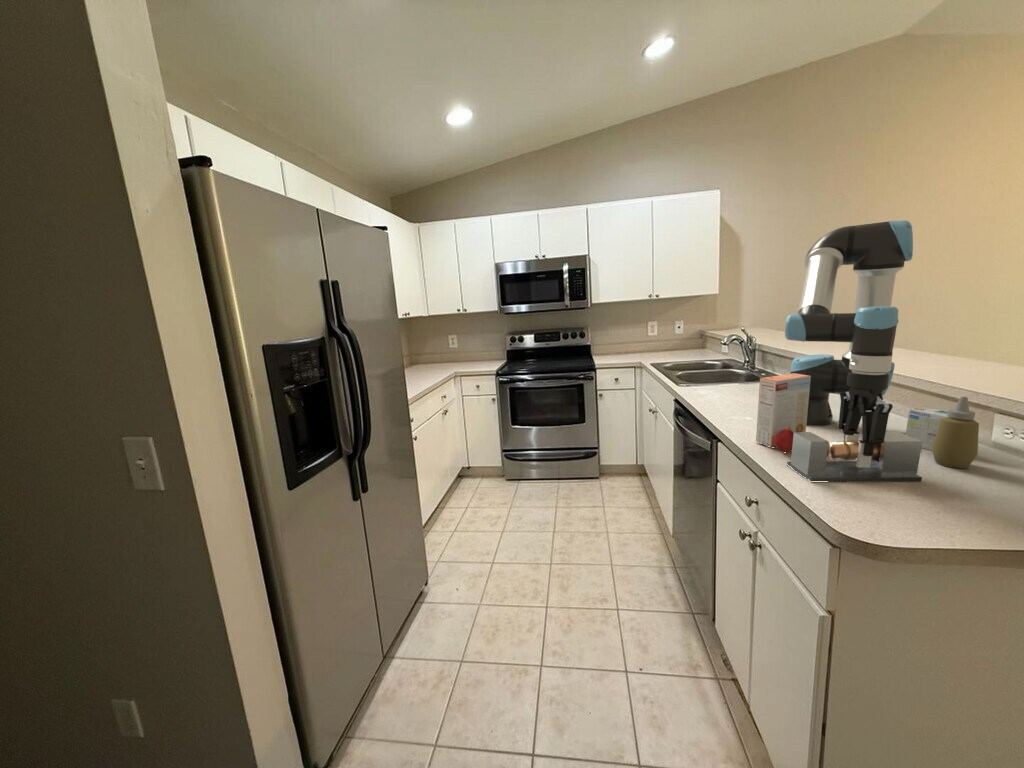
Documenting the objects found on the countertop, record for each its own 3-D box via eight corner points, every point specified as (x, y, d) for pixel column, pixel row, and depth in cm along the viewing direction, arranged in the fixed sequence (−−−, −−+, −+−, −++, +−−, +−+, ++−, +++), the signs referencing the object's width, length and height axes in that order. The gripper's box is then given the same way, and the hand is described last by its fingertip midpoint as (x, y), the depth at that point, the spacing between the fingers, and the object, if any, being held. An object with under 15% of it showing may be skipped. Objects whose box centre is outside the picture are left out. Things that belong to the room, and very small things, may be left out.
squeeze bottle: (965, 473, 100) (979, 402, 96) (922, 462, 107) (934, 396, 103) (981, 466, 103) (995, 398, 99) (938, 456, 110) (949, 392, 106)
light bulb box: (965, 452, 112) (973, 414, 110) (949, 455, 110) (956, 417, 108) (918, 440, 122) (923, 405, 120) (902, 443, 120) (908, 408, 118)
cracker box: (787, 436, 130) (793, 372, 126) (805, 442, 124) (813, 375, 120) (753, 442, 126) (759, 376, 121) (771, 449, 120) (777, 380, 116)
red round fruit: (775, 455, 115) (778, 429, 113) (770, 448, 120) (773, 423, 119) (800, 457, 113) (802, 430, 111) (793, 450, 118) (796, 424, 117)
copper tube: (823, 455, 104) (824, 439, 103) (898, 454, 103) (900, 438, 102) (834, 462, 100) (837, 445, 99) (913, 461, 98) (916, 444, 97)
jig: (786, 465, 108) (790, 430, 106) (886, 464, 106) (892, 428, 104) (810, 482, 99) (815, 443, 96) (921, 481, 96) (928, 442, 94)
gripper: (827, 366, 105) (817, 450, 110) (880, 379, 89) (865, 477, 94) (858, 365, 105) (846, 450, 110) (917, 378, 88) (900, 477, 93)
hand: (855, 462), depth 102 cm, fingers closed on copper tube, 4 cm apart
